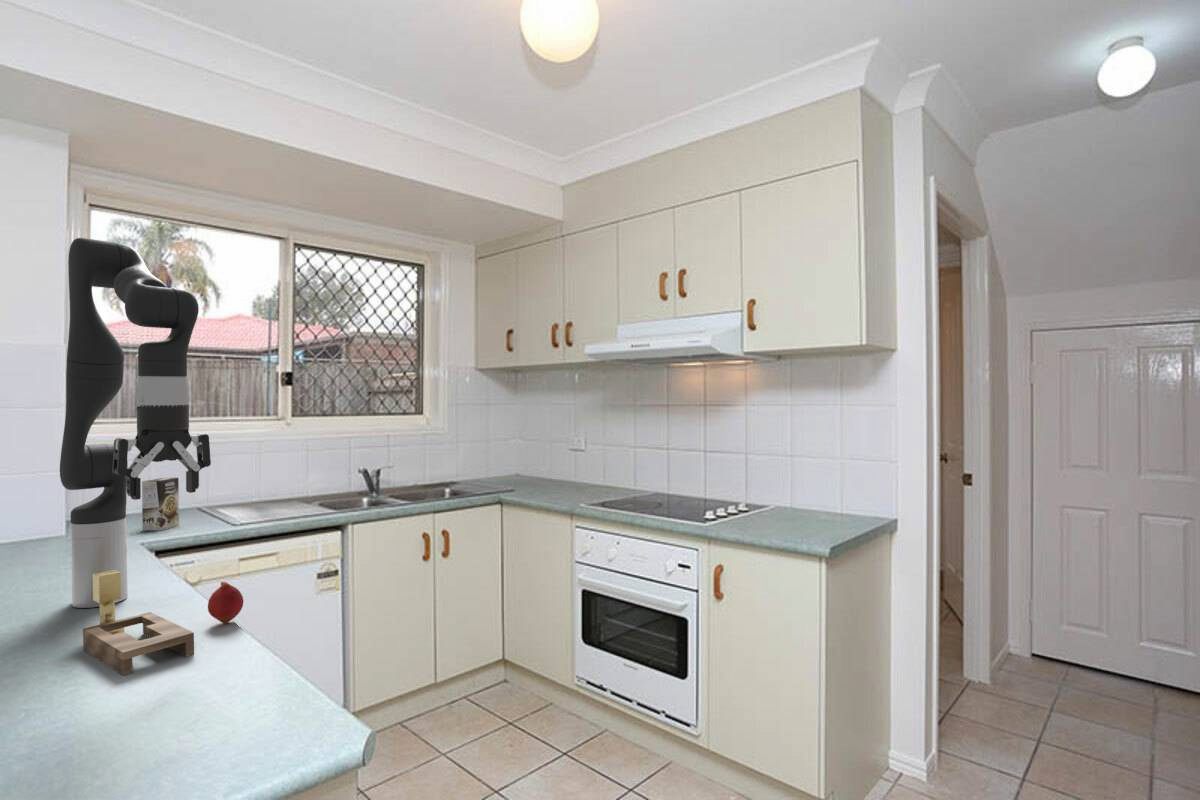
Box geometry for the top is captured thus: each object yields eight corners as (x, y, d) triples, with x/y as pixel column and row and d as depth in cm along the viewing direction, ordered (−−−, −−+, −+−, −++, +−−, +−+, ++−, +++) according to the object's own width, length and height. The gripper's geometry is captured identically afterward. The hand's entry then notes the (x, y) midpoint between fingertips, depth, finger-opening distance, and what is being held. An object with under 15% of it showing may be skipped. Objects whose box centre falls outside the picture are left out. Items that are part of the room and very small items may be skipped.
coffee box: (161, 530, 207) (160, 480, 207) (141, 531, 207) (140, 481, 207) (180, 525, 216) (179, 477, 216) (161, 525, 216) (160, 477, 216)
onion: (236, 615, 126) (235, 575, 126) (248, 622, 123) (248, 580, 122) (203, 624, 122) (202, 582, 122) (215, 631, 118) (214, 587, 118)
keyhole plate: (83, 649, 110) (82, 628, 110) (150, 631, 118) (150, 612, 118) (123, 675, 99) (122, 652, 99) (194, 653, 108) (193, 632, 108)
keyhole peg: (87, 635, 116) (85, 574, 116) (118, 627, 120) (117, 568, 120) (96, 641, 114) (95, 578, 113) (128, 633, 118) (127, 572, 117)
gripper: (197, 401, 120) (198, 488, 120) (105, 402, 108) (106, 499, 109) (217, 402, 115) (217, 492, 116) (123, 404, 104) (124, 504, 104)
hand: (164, 495), depth 112 cm, fingers open, 8 cm apart
